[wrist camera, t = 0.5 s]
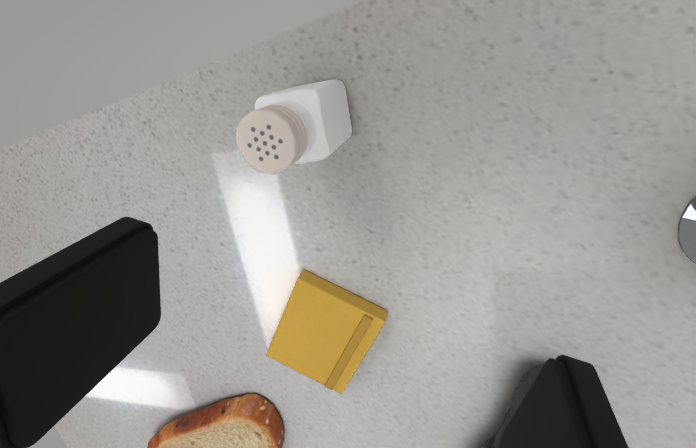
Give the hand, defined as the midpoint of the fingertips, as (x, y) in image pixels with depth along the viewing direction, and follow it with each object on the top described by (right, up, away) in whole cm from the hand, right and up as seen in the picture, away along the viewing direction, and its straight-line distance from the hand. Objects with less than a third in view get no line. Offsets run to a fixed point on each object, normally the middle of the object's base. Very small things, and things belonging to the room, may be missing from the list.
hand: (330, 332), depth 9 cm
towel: (-2, -7, +26) cm, 27 cm away
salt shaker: (-1, +10, +18) cm, 21 cm away
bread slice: (-15, -23, +38) cm, 47 cm away
